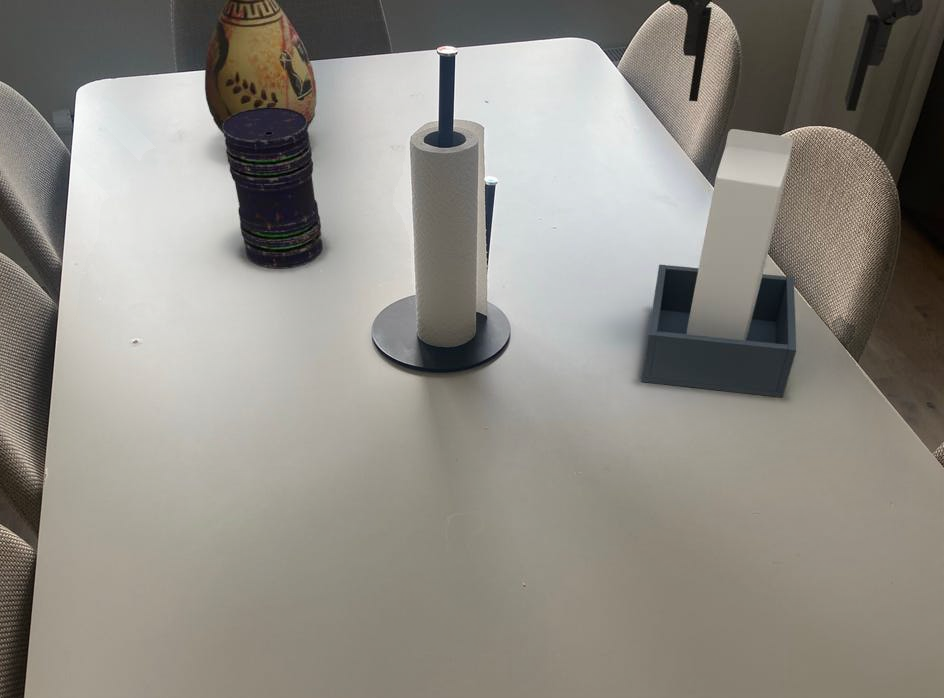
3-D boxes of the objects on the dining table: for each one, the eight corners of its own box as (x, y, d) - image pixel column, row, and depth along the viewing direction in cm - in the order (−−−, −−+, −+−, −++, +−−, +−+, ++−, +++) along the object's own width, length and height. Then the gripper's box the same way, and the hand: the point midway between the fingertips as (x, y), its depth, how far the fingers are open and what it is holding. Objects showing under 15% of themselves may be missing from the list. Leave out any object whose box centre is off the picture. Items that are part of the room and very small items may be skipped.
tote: (781, 323, 107) (794, 276, 103) (782, 397, 98) (796, 349, 93) (652, 310, 109) (659, 264, 105) (641, 381, 100) (648, 334, 96)
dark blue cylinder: (240, 236, 122) (216, 112, 110) (315, 226, 123) (300, 102, 112) (251, 274, 115) (226, 146, 104) (330, 262, 117) (314, 135, 106)
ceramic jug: (317, 173, 134) (285, -88, 111) (208, 173, 134) (155, -87, 111) (329, 125, 145) (302, -122, 122) (229, 125, 145) (184, -121, 122)
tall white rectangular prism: (736, 367, 100) (790, 151, 84) (680, 355, 102) (722, 141, 85) (747, 337, 104) (800, 125, 87) (693, 326, 106) (734, 116, 89)
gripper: (660, -214, 67) (626, 107, 83) (1032, -209, 64) (922, 125, 80) (667, -230, 72) (634, 77, 88) (1013, -226, 69) (913, 93, 85)
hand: (770, 100), depth 84 cm, fingers open, 13 cm apart
